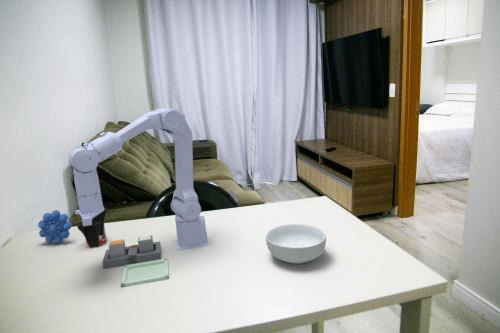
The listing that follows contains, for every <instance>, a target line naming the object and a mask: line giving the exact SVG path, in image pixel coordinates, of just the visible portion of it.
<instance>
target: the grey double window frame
mask: <svg viewBox="0 0 500 333" xmlns="http://www.w3.org/2000/svg"><path fill="white" fill-rule="evenodd" d="M153 245H154V251H153V252H147V253H139V246H138V244H131V245H128V246H125V247H126V254H127V256H122V257H116V258H110V253H109V248H108V249H105V253H104V255H103V259H102V262H101V263H102V269H103V270H104V269H110V268H117V267H123V266H126V265H132V264H138V263H144V262H150V261H156V260H162V247H161V246H162V245H161V241H153Z"/></svg>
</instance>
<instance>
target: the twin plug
mask: <svg viewBox="0 0 500 333" xmlns="http://www.w3.org/2000/svg"><path fill="white" fill-rule="evenodd" d="M153 242H154V239H153V234H150V235H143V236H138V238H137V245H138V246H139V253H138V254H140V253H147V252H153V251H154V245H153Z"/></svg>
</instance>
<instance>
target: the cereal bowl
mask: <svg viewBox="0 0 500 333" xmlns="http://www.w3.org/2000/svg"><path fill="white" fill-rule="evenodd" d="M265 242H266V246H267V249H268V251H269V253H270V254H271V255H272V256H274V257H275V258H276V259H278V260H280V261H283V262H286V263H287V264H288V263H289V264H292V265H297V264H298V265H299V264H305V263H308V262H310V261H313V260H315V259H317V258H319V257H320V255H322V253H323V252H324V250H326V246H327V245H326V244H327V243H326V242H327V235H326V233H325V232H324V231H323V230H322V229H320V228H319V227H316V226H314V225H309V224H301V223H292V224H291V223H290V224H284V225H279V226H276V227H274V228H271V229H270V230H268V231H267V233H266V234H265Z"/></svg>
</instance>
